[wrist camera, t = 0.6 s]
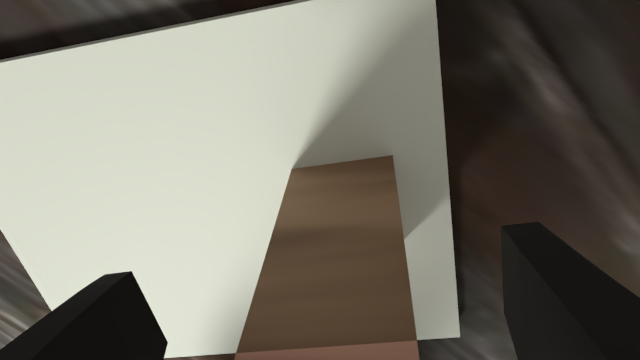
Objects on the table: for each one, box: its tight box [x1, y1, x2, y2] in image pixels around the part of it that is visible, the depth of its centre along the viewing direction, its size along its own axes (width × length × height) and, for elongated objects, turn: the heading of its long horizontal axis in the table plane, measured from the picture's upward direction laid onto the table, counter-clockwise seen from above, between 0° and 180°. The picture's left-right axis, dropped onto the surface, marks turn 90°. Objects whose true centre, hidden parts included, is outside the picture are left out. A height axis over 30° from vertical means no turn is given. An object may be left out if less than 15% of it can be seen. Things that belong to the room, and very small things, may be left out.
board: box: [0, 0, 460, 358], centre depth 20 cm, size 16×20×1 cm
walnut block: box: [234, 155, 420, 360], centre depth 14 cm, size 4×4×10 cm
